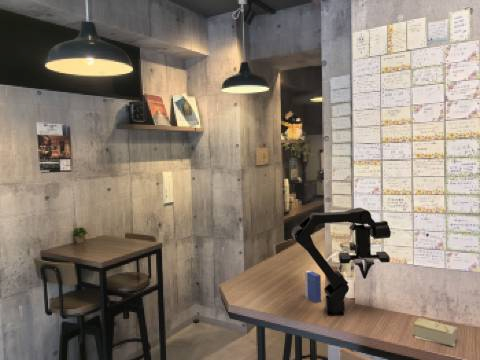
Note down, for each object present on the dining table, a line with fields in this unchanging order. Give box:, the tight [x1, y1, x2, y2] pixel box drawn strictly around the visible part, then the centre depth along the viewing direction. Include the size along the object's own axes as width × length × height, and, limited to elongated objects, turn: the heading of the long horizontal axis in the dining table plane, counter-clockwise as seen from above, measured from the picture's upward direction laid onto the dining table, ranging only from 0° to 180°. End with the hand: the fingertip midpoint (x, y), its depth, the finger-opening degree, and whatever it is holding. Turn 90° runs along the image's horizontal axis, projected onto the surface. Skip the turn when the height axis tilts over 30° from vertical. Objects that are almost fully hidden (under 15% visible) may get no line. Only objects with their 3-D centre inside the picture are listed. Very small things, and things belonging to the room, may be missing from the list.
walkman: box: [304, 270, 322, 304], centre depth 169 cm, size 8×3×12 cm, turn 25°
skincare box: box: [413, 317, 458, 347], centre depth 133 cm, size 6×4×12 cm
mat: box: [414, 335, 456, 347], centre depth 137 cm, size 12×14×1 cm
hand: (364, 278), depth 156 cm, fingers closed
